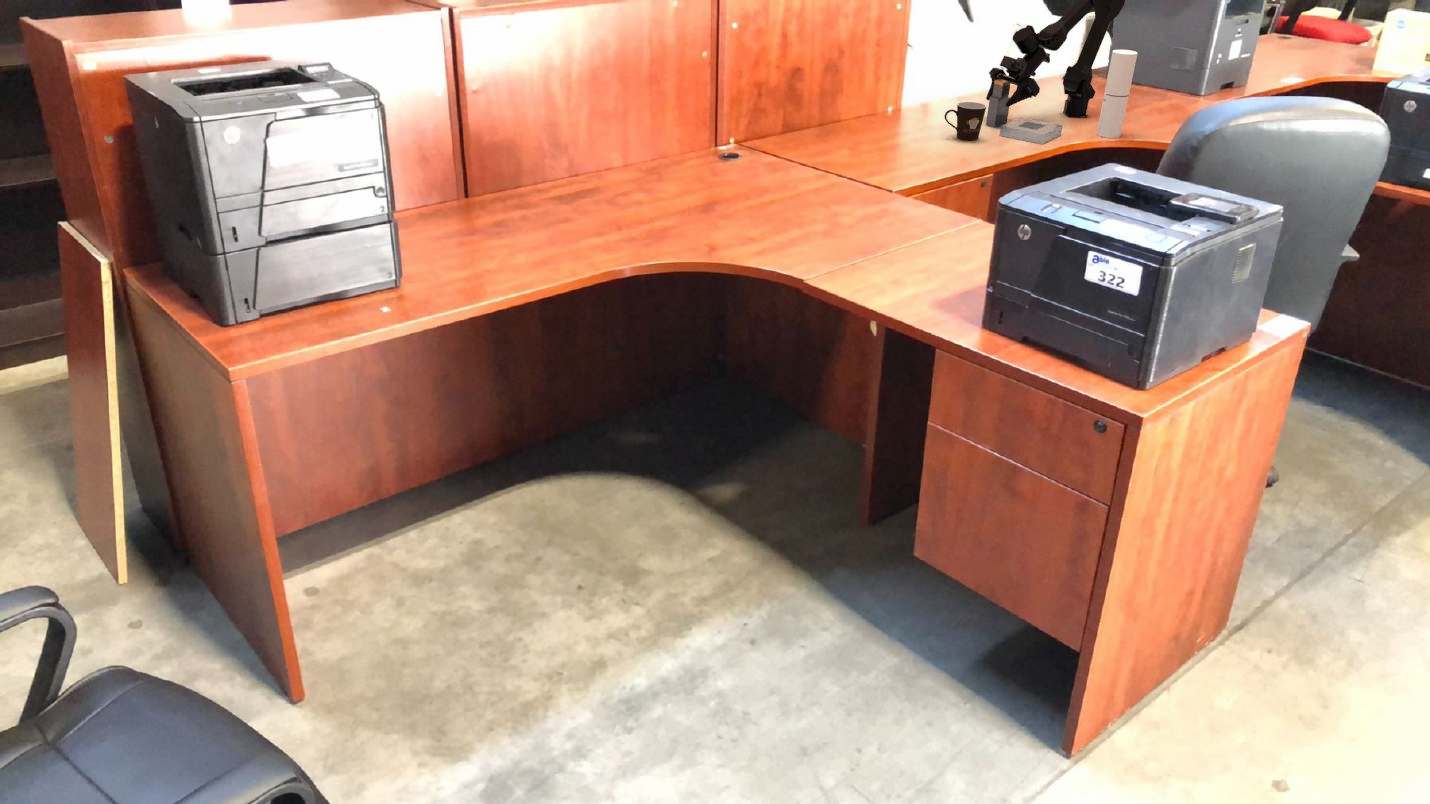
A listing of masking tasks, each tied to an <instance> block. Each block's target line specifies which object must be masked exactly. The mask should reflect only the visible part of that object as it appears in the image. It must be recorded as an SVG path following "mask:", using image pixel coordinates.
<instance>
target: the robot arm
mask: <svg viewBox="0 0 1430 804" xmlns="http://www.w3.org/2000/svg"><path fill="white" fill-rule="evenodd" d="M1125 2H1126V0H1077V1H1076V2H1075V3H1074V4H1073V5H1072V6H1071V7H1070V8H1069V9H1068V10H1067V11H1066V12H1065V13H1064V14H1063V15H1062V16H1061V17H1060V18H1059V19H1058V20H1056V21H1055V22H1053V23H1051V24H1048V25H1047V26H1045V27H1044V28H1042V29H1040V31H1039V32H1037V33H1036V31H1035V29H1034V27H1033V25H1031V24H1030V25H1029V24H1026V27H1022V28H1020V29H1019V30H1017V31H1015V33H1014V34H1013V36H1012V40H1013V42H1014V44H1015V45H1016V47H1017V48H1018V51H1019V52H1020V53H1021V54H1022V55H1023V57H1020V56H1019V57H1017V58H1014V57H1011V56H1007V55H1003V58H1002V59H1001V61H1000V63H999V66H1000V67H1002V68H1005V69H1006V70H1004V69H1001V68H998V67H992V68H991V69H990V71H988V74H989V76H990V79H991V83H990V87H989V89H988V91H987V95H986V97H985V99H986V101H989V99H990V96H992V95H993V89H994V82H995V80H1000V79H1003V80H1006V81H1010V82H1011V84H1010V85H1014V86H1016V89H1015V91H1014V92H1013V94H1011V96H1009V97H1010V99H1009V100H1008V102H1007V103H1006V107H1009V108H1010V107H1011V106H1013V105H1015V104H1017V103H1020V102H1022V101H1024V100H1027V99H1031V98H1033V97H1035V98H1036V97H1037V96H1038V95H1039V93H1040V92H1041V87H1040V86H1039V84H1038V83H1037V81H1036V80H1035V78H1032V77H1036V75H1037V73H1036V71H1037V69H1038V68H1039V67H1040V66H1041V65H1042V64H1043V63H1047V64H1050V63H1051V57H1050V56H1051V53H1049V52H1046V50H1048V51H1052V52H1054V51H1055V52H1056V51H1058V50H1059V49H1060V48H1061V47H1062V46H1063V44H1064V43H1065V41H1066V40H1067V38H1068V34H1069V32H1071V30H1072V29H1073V28H1074V27H1076V25H1077V24H1078V23H1080V22H1081V21H1082V19H1083V18H1085V16H1087V15H1088V13H1090V11H1092V9H1093V10H1094V19H1093V21H1092V24H1091V27H1090V29H1089V31H1088V34H1087V37H1086V39H1085V41H1084V44H1083V47H1082V49H1081V51H1080V53H1079V56H1078V58H1077V61H1076V63H1074V64H1073V65H1072V66H1071V65H1069V66H1067V68H1066V70H1065V74H1064V75H1063V76H1062V79H1063V80H1062V85H1063V93H1064V95H1067V99H1065V101H1064V107H1063V111H1062V113H1063V114H1064V115H1065V116H1066V117H1068V118H1088V117H1089V116H1088V114H1087V111H1088V106H1089V101H1090V100H1092V99H1094V97H1095V94H1096V91H1095V89H1094V88H1093V85H1092V80H1093V78H1094V77H1093V69H1092V68H1093V64H1094V62H1095V59H1096V57H1097V55H1098V53H1099V50H1100V48H1101V45H1102V44H1103V43H1102V42H1103V41H1104V38H1105V36H1106V34H1107V31H1108V29H1109V26H1110V25H1111V22H1112V21H1114V20H1115V19H1116V17H1118V16H1119V14H1120V13H1121V11H1122V10H1123V7H1124V5H1125ZM1005 71H1006V72H1005ZM1007 74H1008V75H1007Z"/></svg>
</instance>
